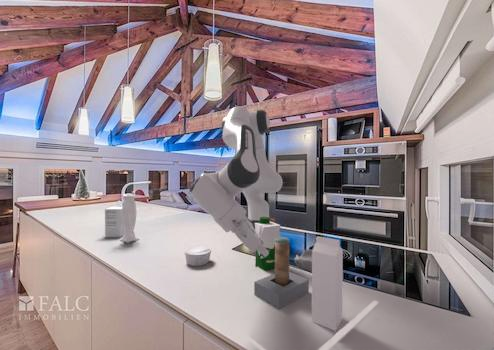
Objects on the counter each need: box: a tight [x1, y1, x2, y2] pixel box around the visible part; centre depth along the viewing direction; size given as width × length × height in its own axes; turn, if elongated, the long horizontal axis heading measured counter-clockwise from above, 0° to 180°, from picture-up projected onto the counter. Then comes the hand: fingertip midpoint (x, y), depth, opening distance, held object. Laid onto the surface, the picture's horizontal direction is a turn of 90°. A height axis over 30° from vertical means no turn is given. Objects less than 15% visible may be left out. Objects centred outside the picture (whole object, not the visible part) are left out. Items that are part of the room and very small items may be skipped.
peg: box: [274, 236, 290, 287], centre depth 72 cm, size 4×4×17 cm
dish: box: [294, 249, 313, 273], centre depth 96 cm, size 14×14×5 cm
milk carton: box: [254, 217, 281, 272], centre depth 94 cm, size 9×9×20 cm
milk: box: [311, 235, 344, 332], centre depth 60 cm, size 6×6×22 cm
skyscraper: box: [119, 190, 140, 244], centre depth 130 cm, size 8×8×28 cm
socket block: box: [253, 271, 310, 310], centre depth 72 cm, size 14×10×5 cm
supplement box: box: [104, 206, 124, 238], centre depth 142 cm, size 10×9×17 cm
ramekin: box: [184, 245, 212, 267], centre depth 100 cm, size 11×11×5 cm
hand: (264, 249), depth 72 cm, fingers open, 8 cm apart
